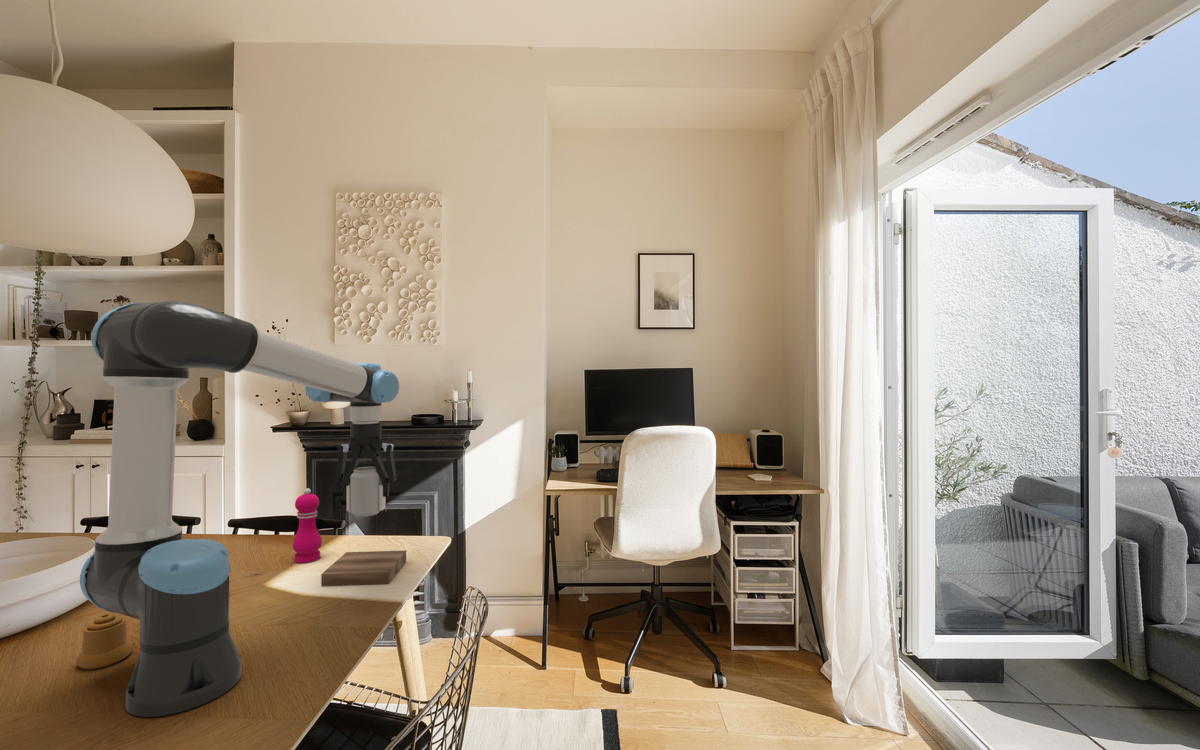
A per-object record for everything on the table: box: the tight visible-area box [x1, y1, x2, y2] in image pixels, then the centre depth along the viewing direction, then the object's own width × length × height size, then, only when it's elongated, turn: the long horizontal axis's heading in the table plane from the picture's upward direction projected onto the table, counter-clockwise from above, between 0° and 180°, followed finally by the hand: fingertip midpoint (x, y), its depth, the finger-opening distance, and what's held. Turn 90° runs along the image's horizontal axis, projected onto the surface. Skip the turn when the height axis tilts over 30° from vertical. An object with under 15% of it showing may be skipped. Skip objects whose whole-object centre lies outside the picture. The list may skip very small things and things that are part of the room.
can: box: [349, 466, 382, 518], centre depth 139 cm, size 8×8×12 cm
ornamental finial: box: [75, 612, 133, 670], centre depth 97 cm, size 8×8×8 cm
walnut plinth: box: [320, 549, 407, 587], centre depth 139 cm, size 16×16×3 cm
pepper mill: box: [292, 487, 323, 564], centre depth 149 cm, size 7×7×20 cm
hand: (366, 509), depth 139 cm, fingers closed on can, 7 cm apart
